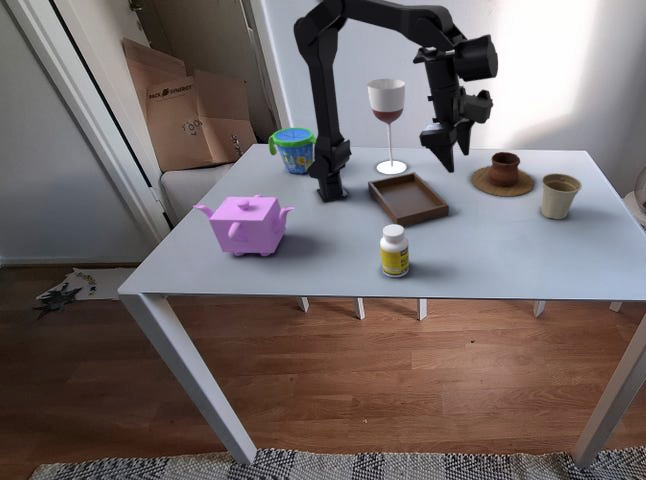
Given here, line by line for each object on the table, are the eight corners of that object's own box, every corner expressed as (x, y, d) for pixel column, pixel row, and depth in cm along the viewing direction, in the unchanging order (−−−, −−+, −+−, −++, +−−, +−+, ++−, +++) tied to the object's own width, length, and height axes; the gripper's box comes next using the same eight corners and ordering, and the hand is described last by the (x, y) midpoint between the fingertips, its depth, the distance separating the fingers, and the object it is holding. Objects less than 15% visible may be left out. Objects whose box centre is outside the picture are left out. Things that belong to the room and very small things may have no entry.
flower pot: (580, 213, 98) (589, 182, 93) (560, 228, 93) (569, 196, 87) (548, 199, 103) (554, 169, 97) (528, 213, 98) (534, 181, 92)
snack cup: (334, 165, 114) (328, 131, 107) (314, 181, 106) (306, 145, 100) (288, 157, 117) (280, 123, 111) (265, 172, 110) (255, 136, 103)
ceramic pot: (547, 186, 109) (552, 162, 104) (498, 203, 101) (501, 178, 96) (505, 162, 120) (508, 139, 115) (458, 175, 112) (459, 152, 107)
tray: (368, 190, 104) (367, 181, 102) (415, 180, 109) (414, 171, 107) (397, 227, 91) (397, 218, 89) (448, 214, 96) (449, 205, 94)
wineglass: (414, 165, 116) (412, 82, 101) (393, 178, 109) (387, 91, 95) (390, 157, 120) (384, 76, 105) (368, 169, 113) (359, 84, 98)
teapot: (278, 219, 92) (266, 177, 85) (305, 245, 84) (293, 202, 77) (210, 244, 84) (189, 200, 77) (232, 275, 76) (212, 230, 69)
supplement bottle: (405, 280, 77) (402, 240, 71) (378, 276, 78) (374, 236, 71) (412, 263, 81) (411, 224, 75) (387, 259, 82) (384, 220, 75)
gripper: (467, 93, 64) (482, 181, 73) (498, 67, 77) (507, 145, 86) (408, 101, 68) (429, 183, 77) (447, 75, 82) (460, 148, 91)
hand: (459, 163), depth 83 cm, fingers open, 9 cm apart
